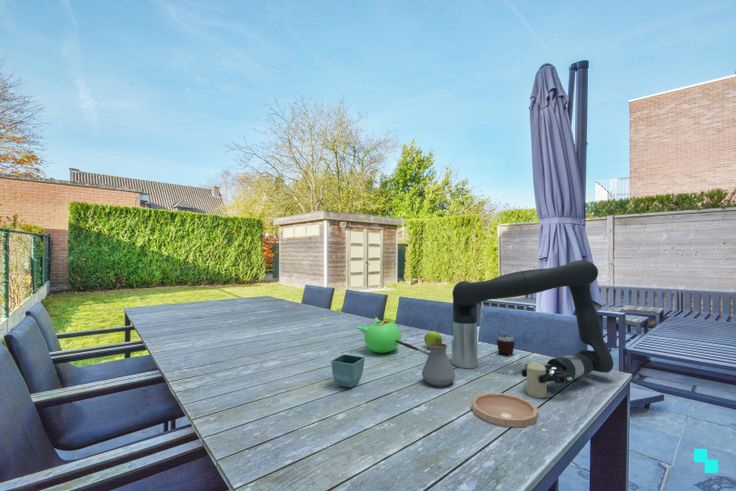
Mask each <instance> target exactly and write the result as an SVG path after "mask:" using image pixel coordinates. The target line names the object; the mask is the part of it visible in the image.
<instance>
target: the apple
mask: <svg viewBox="0 0 736 491" xmlns="http://www.w3.org/2000/svg"><path fill="white" fill-rule="evenodd" d="M423 339H424V340H423V341H424V342H425V343H424V344H426V346H427V347H429V344H431V343H443V338H442V336H441V334H440V333H439V332H438V331H435V330H433V331H429V332H426V333H425V335H424V338H423ZM429 348H430V347H429Z"/></svg>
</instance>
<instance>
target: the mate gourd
mask: <svg viewBox="0 0 736 491" xmlns="http://www.w3.org/2000/svg"><path fill="white" fill-rule="evenodd" d="M492 320H493V322H494V323H496V325H497V327H498V329H499V332H500V335H499V336H498V337H497V341H496V343H497V344H496V345H497V350H498V355H499V356H506V357H508V358H510V356H513V355H514V353H513V352H514V348H515V340H514V337H513V336H512V335H509V334H503V331H502V329H501V326H500V324H499V323H498V321H496V319H494V318H492Z"/></svg>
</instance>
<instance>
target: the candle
mask: <svg viewBox="0 0 736 491" xmlns="http://www.w3.org/2000/svg"><path fill="white" fill-rule="evenodd" d="M529 363H530V364H529ZM529 363H527V364H528V365H527V364H526V365H527V377H526V392H527V395H529V396H530V397H533V398H540V399H541V398H546V397H547V382H545V383H542V384H541V383H539V381H538V377H539V376H540V375H544V374H546V368H545V367H544V366H543V364H541V363H540V362H539V361H536V360H535V361H531V362H529Z"/></svg>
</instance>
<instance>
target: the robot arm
mask: <svg viewBox="0 0 736 491" xmlns="http://www.w3.org/2000/svg"><path fill="white" fill-rule="evenodd" d="M598 276H599V269H598V267H597V266H596V265H595V264H594V263H593V262H592V261H588V260H584V259H578V260H574V261H572V262H570V263H567V264H563V265H559V266H555V267H548V268H535V269H528V270H520V271H514V272H511V273H506V274H502V275H500V276H497V277H495V278H492V279H491V278H490V279H487V280H483V281H475V282H474V281H473V282H472V281H471V282H469V281H467V280H466V281H465V280H462V281H459V282H458V283H456V284H455V285H454V286H453V289H452V326H453V327H452V329H453V330H452V334H453V336H452V337H453V338H452V340H451V366H452V365H453V366H456V367H457V368H463V369H473V368H475V369H476V368H477V367H478V365H479V364H478V360H479V359H478V314H477V313H478V311H477V310H478V309H477V303H481V302H485V301H489V300H495V299H499V300H500V299H508V298H515V297H517V298H518V297H524V296H529V295H533V294H537V293H543V292H545V291H549V290H552V289H556V288H557V289H558V288H561V287H562V288H563V287H569V288H568V289H569V290H570V294H571V298H572V302H573V307H574V310H575V311H574V312H575V316H576V318H575V319H576V323H577V328H578V333H579V334H578V335H579V340H580V342H581V343H582V344H584V345H588V346H590V347H591V349H593V350H589V349H585V350H584V349H583V350H580V351H578V352H576V353H575V354H570V355H563V356H559V357H554V358H553V357H552V358H550V359H549V360H548V362H546V363H544V364H542V365H543V366H544V367H545V368H546V374H544V375H540V376H539V377H538V381H539V383H541V384H542V383H545V382H546V383H550V384H551V383H554V384H556V385H561V384H563V385H564V384H568V383H569V384H570V383H573V380H576V379H578V378H581V377H584V376H587V375H588V374H591V373H592V372H598V373H605V374H607V373H610V372H611V371H612V370H613V367H614V358H613V356H612V354H611V352H610V350H609V348H608V346H607V344H606V342H605V340H604V337H603V331H602V327H601V326H602V325H601V322H600V321H601V320H600V318H599V315H598V312H597V309H596V306H595V304H594V302H593V298H592V295H591V294H592V293H591V284H593V283H594V282H595V281H596V280H597V278H598ZM530 363H531V362H529V363H527V364H525V368H523V369H521V377H523V378H527V365H528V364H530Z"/></svg>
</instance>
